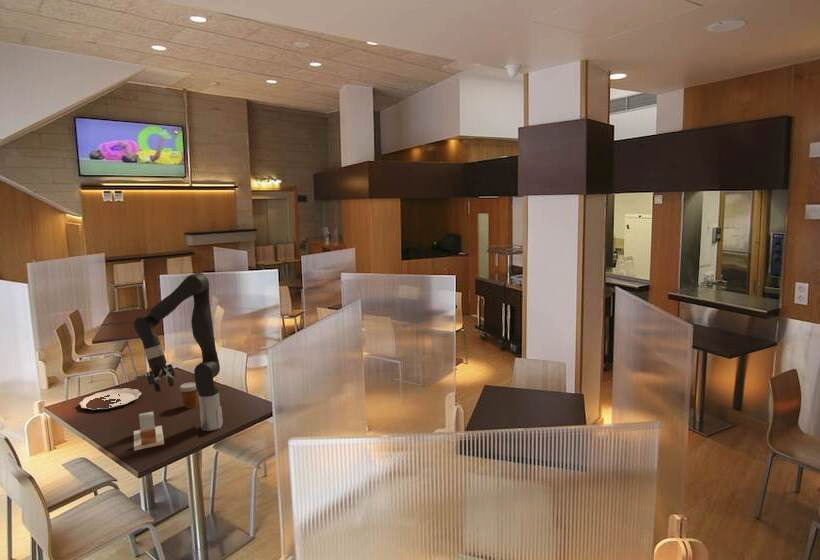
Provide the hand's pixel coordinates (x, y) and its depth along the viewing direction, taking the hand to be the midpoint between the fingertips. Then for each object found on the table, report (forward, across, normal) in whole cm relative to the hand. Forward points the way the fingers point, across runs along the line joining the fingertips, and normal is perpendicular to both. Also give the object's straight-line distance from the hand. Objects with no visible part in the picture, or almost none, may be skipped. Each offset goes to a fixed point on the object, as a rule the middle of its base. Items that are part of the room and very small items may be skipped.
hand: (165, 389), depth 243 cm
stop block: (+20, -14, +4) cm, 25 cm away
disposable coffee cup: (+16, +30, +16) cm, 37 cm away
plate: (+2, +24, +62) cm, 67 cm away
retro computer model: (+17, -6, +12) cm, 22 cm away
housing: (+20, -9, +9) cm, 24 cm away
